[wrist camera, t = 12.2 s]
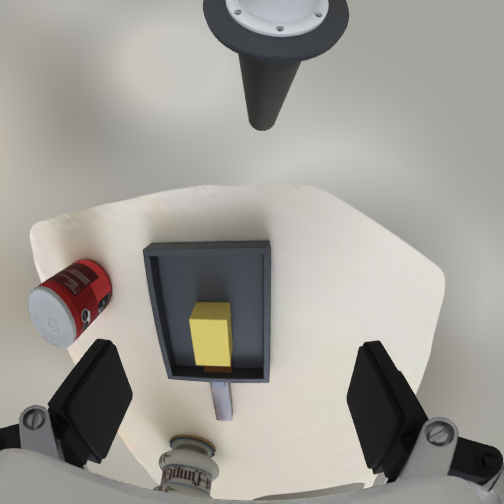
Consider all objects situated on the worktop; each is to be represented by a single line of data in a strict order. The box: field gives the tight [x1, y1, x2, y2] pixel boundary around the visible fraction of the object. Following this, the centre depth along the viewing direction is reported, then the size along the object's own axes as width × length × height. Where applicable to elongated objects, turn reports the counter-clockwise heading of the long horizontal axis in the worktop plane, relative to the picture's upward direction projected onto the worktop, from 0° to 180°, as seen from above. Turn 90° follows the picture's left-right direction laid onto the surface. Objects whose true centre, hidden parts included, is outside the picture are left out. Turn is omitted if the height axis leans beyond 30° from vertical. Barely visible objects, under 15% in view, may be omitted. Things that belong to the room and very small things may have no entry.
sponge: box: [189, 302, 233, 366], centre depth 34 cm, size 7×4×4 cm, turn 1°
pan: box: [143, 241, 271, 383], centre depth 34 cm, size 20×15×3 cm
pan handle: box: [210, 382, 233, 421], centre depth 39 cm, size 11×3×3 cm, turn 1°
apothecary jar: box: [153, 435, 219, 499], centre depth 37 cm, size 12×12×18 cm
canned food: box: [28, 260, 112, 348], centre depth 30 cm, size 8×8×11 cm
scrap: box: [203, 357, 232, 373], centre depth 37 cm, size 4×4×1 cm
